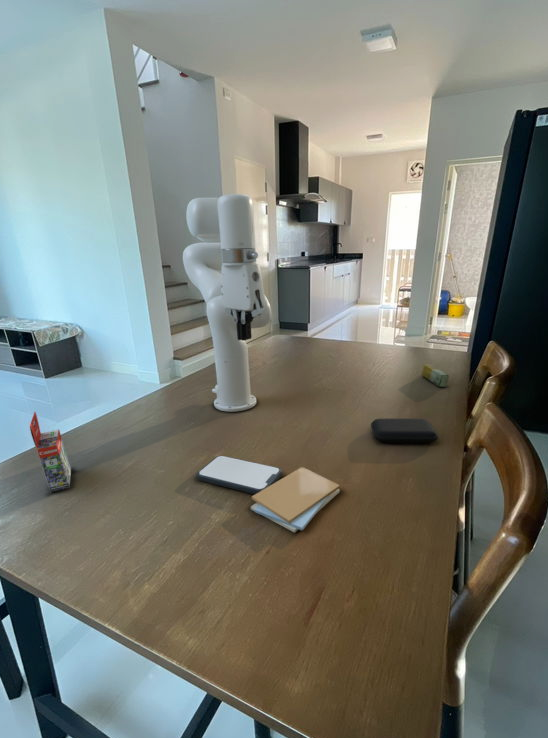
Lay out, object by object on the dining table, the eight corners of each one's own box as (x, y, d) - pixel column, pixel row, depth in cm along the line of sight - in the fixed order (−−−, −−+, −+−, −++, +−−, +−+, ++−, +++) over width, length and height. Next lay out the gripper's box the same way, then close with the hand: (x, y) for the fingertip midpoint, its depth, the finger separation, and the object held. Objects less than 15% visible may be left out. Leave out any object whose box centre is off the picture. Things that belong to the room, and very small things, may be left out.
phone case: (194, 481, 78) (263, 499, 71) (193, 474, 77) (263, 491, 71) (219, 460, 85) (284, 474, 79) (219, 454, 85) (283, 467, 78)
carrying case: (427, 425, 98) (368, 425, 99) (428, 414, 97) (369, 414, 98) (439, 445, 88) (375, 445, 89) (441, 433, 87) (375, 433, 88)
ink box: (71, 469, 83) (54, 407, 77) (70, 488, 76) (51, 422, 71) (52, 473, 82) (33, 411, 76) (49, 493, 75) (28, 426, 69)
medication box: (446, 387, 123) (450, 375, 121) (439, 387, 122) (442, 375, 121) (427, 374, 134) (430, 363, 132) (420, 374, 133) (423, 363, 131)
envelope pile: (245, 509, 69) (244, 501, 68) (296, 471, 79) (296, 464, 79) (297, 538, 62) (297, 529, 61) (346, 492, 72) (346, 484, 72)
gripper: (275, 257, 83) (278, 340, 90) (228, 257, 92) (234, 332, 99) (251, 258, 78) (256, 346, 85) (203, 258, 86) (212, 338, 93)
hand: (244, 339), depth 92 cm, fingers closed
